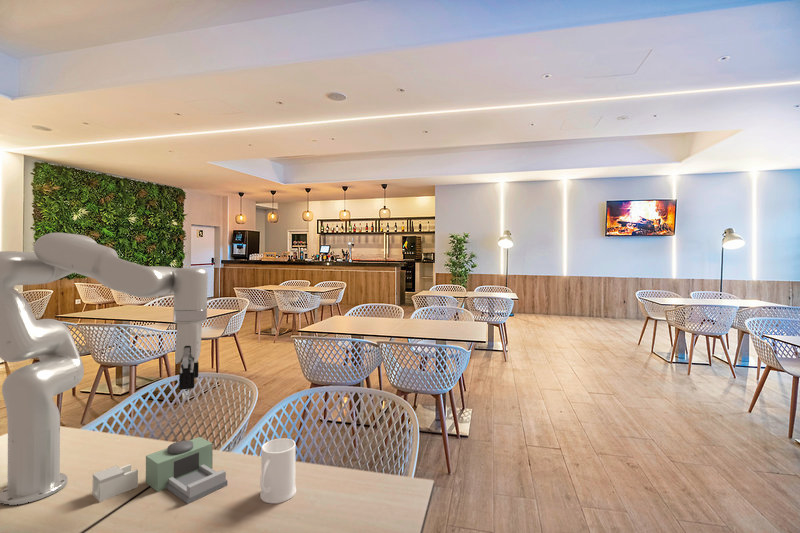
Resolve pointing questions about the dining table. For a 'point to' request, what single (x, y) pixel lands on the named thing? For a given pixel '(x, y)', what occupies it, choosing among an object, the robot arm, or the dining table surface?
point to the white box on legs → (114, 482)
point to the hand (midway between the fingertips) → (189, 383)
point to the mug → (278, 471)
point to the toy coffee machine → (185, 470)
